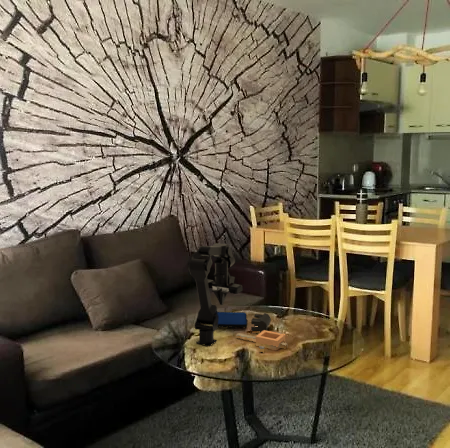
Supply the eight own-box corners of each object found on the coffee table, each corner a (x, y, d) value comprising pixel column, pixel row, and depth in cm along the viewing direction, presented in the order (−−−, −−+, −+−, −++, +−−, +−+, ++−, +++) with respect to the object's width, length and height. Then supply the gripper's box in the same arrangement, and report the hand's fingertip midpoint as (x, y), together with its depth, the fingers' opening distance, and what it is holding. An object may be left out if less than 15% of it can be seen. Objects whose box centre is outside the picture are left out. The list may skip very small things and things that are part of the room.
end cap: (266, 335, 245) (266, 320, 244) (251, 334, 247) (251, 319, 246) (270, 327, 255) (271, 313, 253) (255, 326, 257) (255, 312, 255)
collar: (277, 351, 229) (277, 340, 228) (255, 346, 233) (255, 336, 233) (285, 344, 235) (285, 334, 235) (263, 340, 240) (263, 330, 239)
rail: (276, 356, 223) (277, 350, 223) (227, 345, 234) (227, 339, 234) (294, 341, 239) (294, 335, 238) (247, 331, 250) (247, 325, 250)
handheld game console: (247, 321, 263) (247, 302, 261) (246, 332, 249) (246, 312, 248) (214, 320, 264) (214, 301, 262) (211, 331, 251) (211, 311, 249)
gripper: (248, 269, 251) (248, 303, 254) (213, 264, 261) (213, 296, 263) (236, 275, 242) (236, 310, 245) (200, 270, 251) (200, 303, 254)
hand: (221, 304), depth 252 cm, fingers closed
